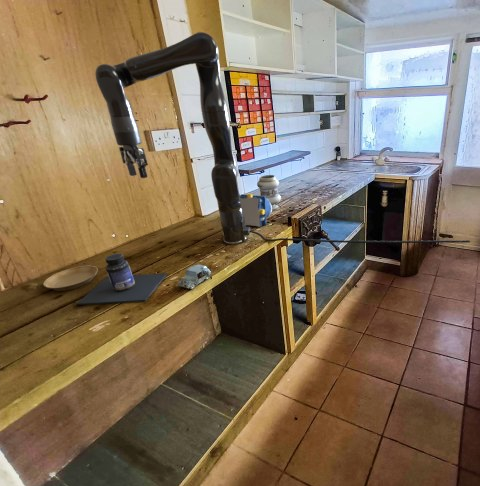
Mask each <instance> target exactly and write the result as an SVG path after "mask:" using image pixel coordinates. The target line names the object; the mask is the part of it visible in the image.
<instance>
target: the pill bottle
mask: <svg viewBox="0 0 480 486" xmlns="http://www.w3.org/2000/svg"><path fill="white" fill-rule="evenodd" d="M104 260H105V262H106V264H107V265H106V266H105V270H106V273H107V277H109V279H110V281H111V284H112V287H113V289H114V290H115V291H119V292H120V291H126V290H129V289H131V288H132V287H133V286H134V285H135V281H134V278H133V275H134V274H133V272H132V270H131V266H130V264H129V262H128V261H127V260H125V256H124V254H123V253H114V254H110V255H108V256H106V257H105V259H104Z"/></svg>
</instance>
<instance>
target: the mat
mask: <svg viewBox="0 0 480 486" xmlns="http://www.w3.org/2000/svg"><path fill="white" fill-rule="evenodd" d="M132 275H133V278H134V281H135V285H134V286H133V287H132V288H131V289H129V290H126V291H120V292H119V291H115V290H114V289H113V287H112V284H111V281H110V279H109V276H107V277H105V278H104V279H103V280H102V281H101V282H100V283H98V284H97V285H96V286H95V287H94V288H93V289H92V290H91V291H89V292H88V293H87V294H86V295H85V296H83V297H82V298H81V299H80V300H79V301H77V303H76V305H77V306H89V305H105V304H107V305H108V304H123V303H140V302H141V303H142V302H146V301H148V299H149V298H150V297H151V296H152V295H153V293H154V292H155V290H156V289H157V288H158V287H159V286H160V284H161V283H162V282H163V281H164V280H165V278H166V277H167V276H168V274H167V273H154V274H153V273H149V274H132Z"/></svg>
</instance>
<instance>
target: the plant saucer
mask: <svg viewBox="0 0 480 486" xmlns="http://www.w3.org/2000/svg"><path fill="white" fill-rule="evenodd" d="M98 271H99V268H98V267H97V266H95V265H82V266H81V265H80V266H74V267H71V268H67V269H64V270H61V271H59V272H56V273H54V274H52V275H51V276H48V278H46V279H44V281H43V283H42V284H43V287H45V288H47V289H50V290H54V291H59V292H65V291H70V290H76V289H78V288H81V287H83V286H86V285H88V283H90V282H91V281H93V279H94V278H95V277H96V275H97V273H98Z"/></svg>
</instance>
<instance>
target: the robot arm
mask: <svg viewBox="0 0 480 486" xmlns="http://www.w3.org/2000/svg"><path fill="white" fill-rule="evenodd" d="M219 53H220V51H219V46H218V44H217V42H216V40H215V39H214V37H213V36H212V35H210V34H209V33H208V32H204V31H197V32H195V33H193V34H192V35H189V36H188V37H185V38H184V39H182V40H180V41H178V42H176V43H174V44H171V45H169V46H166V47H163V48H160V49H156V50H153V51H149V52H145V53H142V54H138V55H135V56H132V57H129V58H127V59H126V60H125V61H124V62H123V61H122V62H120V63H117V64H112V65H111V64H108V63H102V64H99V65H97V67H96V68H95V72H94V76H95V81H96V83H97V86H98V88H99V90H100V93H101V95H102V97H103V99H104V101H105V103H106V107H107V111H108V115H109V117H110V124H111V128H112V131H113V135H114V138H115V141H116V144H117V145H118V146H119V147H118V149H119V152H120V153H119V154H120V157H121V160H122V163H123V164H125V166H126V167H127V170H128V174H129V176H130V177H134V176H137V174H138V173H139V177H140V179H146V178H148V173H147V169H146V167H148V166H149V163H148V160H147V157H146V153H145V149H144V148H143V147H140V148H139V145H141V144H142V139H141V135H140V131H139V128H138V124H137V121H136V119H135V116H134V112H133V108H132V105H131V102H130V100H129V99H128V98H127V96H126V94H125V91H124V89H125V88H128V87H130V86H133V85H135V84H137V83H139V82H145V81H147V80H151V79H154V78H158V77H160V76H163V75H165V74H167V73H169V72H171V71H173V70H176V69H178V68H181V67H185V66H190V65H195V68H196V71H197V75H198V80H199V99H200V100H199V102H200V112H201V116H202V121H203V122H202V123H203V126H204V131H205V132H206V135H207V137H208V140H209V142H210V145H211V148H212V153H213V158H214V159H213V161H214V162H213V163H214V166H213V167H212V169H211V173H210V174H211V183H212V187H213V188H212V189H213V193H214V197H215V199H216V202H217V208H218V213H219V219H220V225H221V234H222V236H223V243H224V244H227V245H237V244H241V243H245V242H246V240H247V239H248V236H250V234H254V235H257V236H259V237H260V238H261V239H262V240H264V241H265V242H278V241H292V242H312V243H313V242H314V243H315V242H317V243H341V244H342V243H345V244H346V243H347V244H349V243H350V244H438V243H439V244H442V243H443V244H445V243H446V244H448V243H451V244H452V243H454V244H456V243H465V244H466V243H469V244H470V243H471V240H470V239H469V240H468V239H467V240H465V239H464V240H463V239H461V240H460V239H459V240H457V239H455V240H446V239H445V240H442V239H441V240H343V239H342V240H341V239H340V240H339V239H313V238H289V237H287V238H285V237H281V238H266V237H264V235H262V233H259V232H257V231H254V230H252V229H251V226H247V225H245V218H244V217H243V213H242V206H241V198H240V195H241V194H240V192H239V187H238V180H237V179H238V174H239V173H238V167H237V163H236V160H235V156H234V152H233V146H232V135H231V124H230V123H231V122H230V116H229V111H228V110H229V109H228V104H227V100H226V97H225V93H224V89H223V85H222V82H221V81H222V80H221V73H220V54H219ZM134 164H135V165H136V166H137V170H138V173H137V171H136V167H135V165H134Z"/></svg>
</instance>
